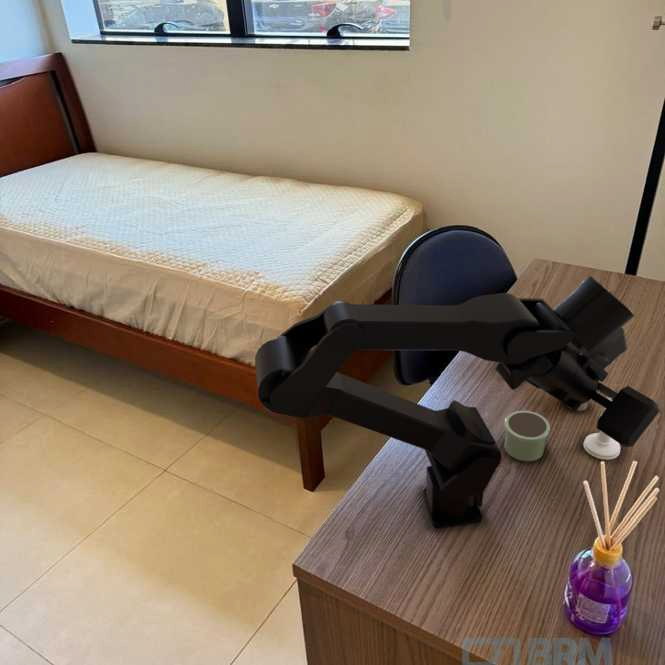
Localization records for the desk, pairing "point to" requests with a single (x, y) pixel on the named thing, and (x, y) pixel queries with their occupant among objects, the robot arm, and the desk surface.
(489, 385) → the desk surface
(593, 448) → the chess piece
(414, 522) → the desk surface
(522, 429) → the pot
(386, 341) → the robot arm
